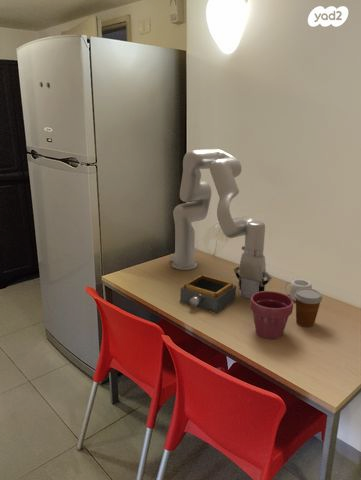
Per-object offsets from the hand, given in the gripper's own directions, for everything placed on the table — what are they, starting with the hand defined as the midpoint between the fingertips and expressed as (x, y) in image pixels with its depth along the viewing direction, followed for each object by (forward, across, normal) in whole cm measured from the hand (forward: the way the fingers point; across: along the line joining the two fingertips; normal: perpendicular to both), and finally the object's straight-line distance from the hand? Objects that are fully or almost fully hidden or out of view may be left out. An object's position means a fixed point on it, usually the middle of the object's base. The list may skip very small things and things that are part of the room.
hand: (251, 291), depth 163 cm
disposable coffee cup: (+3, +26, -8) cm, 27 cm away
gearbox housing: (+2, -12, -16) cm, 20 cm away
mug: (+3, +16, +10) cm, 19 cm away
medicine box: (+3, 0, 0) cm, 3 cm away
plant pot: (+3, +18, -22) cm, 28 cm away
